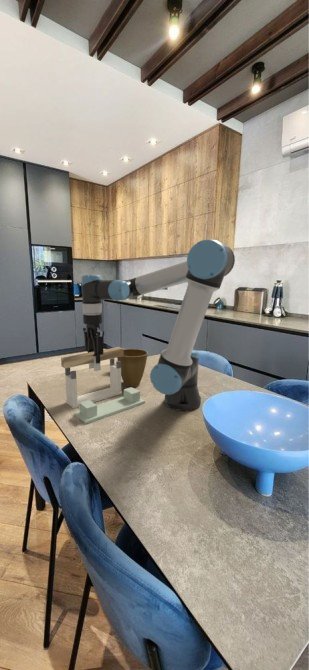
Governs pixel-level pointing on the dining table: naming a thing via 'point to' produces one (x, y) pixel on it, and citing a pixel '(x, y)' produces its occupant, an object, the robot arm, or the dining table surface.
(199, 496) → the dining table surface
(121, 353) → the rail
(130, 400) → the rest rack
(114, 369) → the stand
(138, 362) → the plant pot
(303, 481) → the dining table surface
